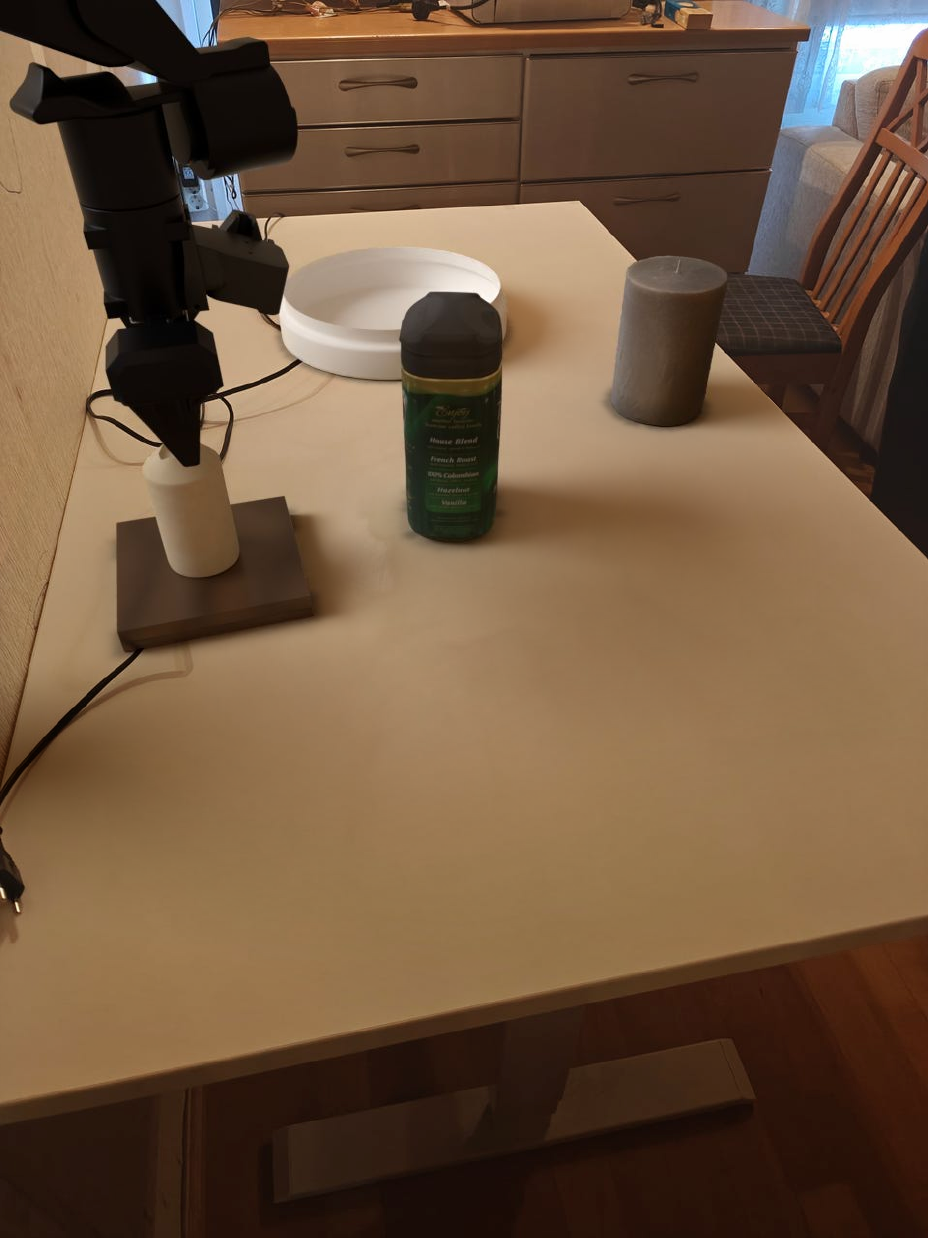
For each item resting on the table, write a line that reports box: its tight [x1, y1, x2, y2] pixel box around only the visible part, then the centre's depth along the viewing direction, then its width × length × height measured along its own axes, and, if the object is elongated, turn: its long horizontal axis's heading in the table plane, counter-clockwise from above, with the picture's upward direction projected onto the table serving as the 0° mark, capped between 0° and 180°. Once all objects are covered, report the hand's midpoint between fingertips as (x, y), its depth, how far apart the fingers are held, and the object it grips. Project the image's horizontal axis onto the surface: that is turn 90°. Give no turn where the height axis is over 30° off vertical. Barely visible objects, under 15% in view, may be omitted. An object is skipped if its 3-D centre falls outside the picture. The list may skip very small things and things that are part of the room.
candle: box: [142, 442, 239, 578], centre depth 65 cm, size 6×6×10 cm
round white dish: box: [278, 246, 508, 381], centre depth 103 cm, size 27×27×6 cm
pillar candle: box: [610, 255, 729, 427], centre depth 87 cm, size 10×10×15 cm
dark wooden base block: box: [115, 495, 315, 652], centre depth 69 cm, size 14×14×2 cm
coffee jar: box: [399, 292, 504, 542], centre depth 70 cm, size 10×8×19 cm
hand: (187, 431), depth 61 cm, fingers open, 9 cm apart
